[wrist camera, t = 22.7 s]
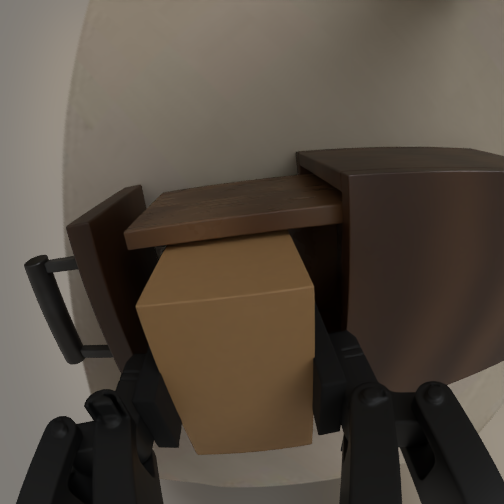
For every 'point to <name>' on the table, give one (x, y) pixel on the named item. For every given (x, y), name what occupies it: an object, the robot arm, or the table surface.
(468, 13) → the table surface
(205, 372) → the small cardboard box
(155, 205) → the drawer
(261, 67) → the table surface
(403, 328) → the cabinet
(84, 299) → the table surface
